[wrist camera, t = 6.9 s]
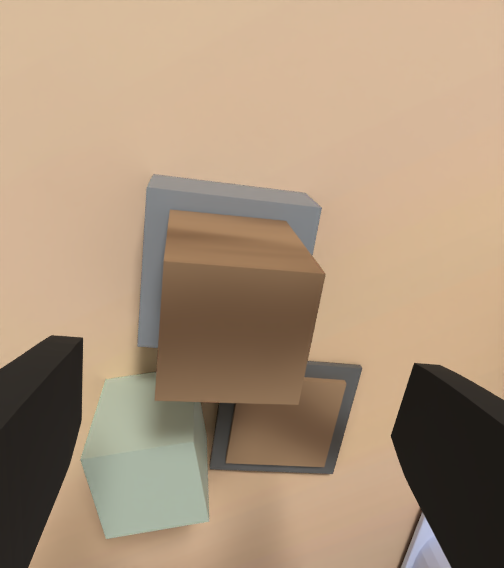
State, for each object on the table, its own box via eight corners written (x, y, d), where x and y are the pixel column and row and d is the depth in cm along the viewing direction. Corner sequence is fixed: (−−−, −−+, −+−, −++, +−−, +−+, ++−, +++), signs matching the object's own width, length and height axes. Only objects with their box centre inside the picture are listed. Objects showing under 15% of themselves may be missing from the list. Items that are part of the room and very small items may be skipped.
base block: (279, 322, 21) (292, 356, 18) (145, 312, 20) (137, 346, 18) (303, 191, 19) (321, 207, 16) (154, 172, 18) (146, 187, 15)
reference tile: (331, 469, 24) (334, 478, 24) (209, 464, 23) (210, 473, 23) (360, 364, 22) (364, 371, 22) (226, 354, 21) (227, 361, 21)
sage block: (206, 434, 23) (209, 521, 18) (124, 447, 23) (106, 538, 18) (194, 365, 21) (193, 441, 17) (105, 378, 21) (80, 459, 16)
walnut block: (269, 322, 18) (298, 404, 13) (162, 316, 17) (154, 400, 12) (286, 220, 16) (325, 274, 12) (169, 209, 16) (163, 261, 11)
